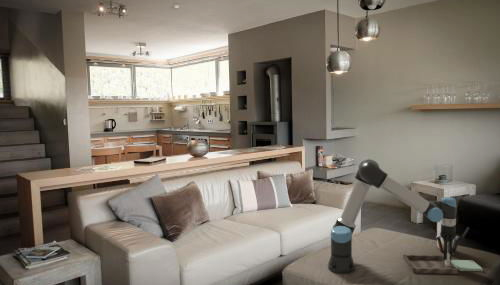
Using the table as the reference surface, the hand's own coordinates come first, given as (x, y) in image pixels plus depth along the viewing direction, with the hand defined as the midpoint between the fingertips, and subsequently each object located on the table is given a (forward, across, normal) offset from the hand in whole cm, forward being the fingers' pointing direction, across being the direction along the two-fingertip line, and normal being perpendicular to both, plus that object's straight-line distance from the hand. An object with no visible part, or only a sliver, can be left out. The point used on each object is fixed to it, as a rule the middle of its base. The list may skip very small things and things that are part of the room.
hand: (447, 264), depth 223 cm
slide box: (+1, -10, 0) cm, 10 cm away
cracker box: (+2, +8, +25) cm, 26 cm away
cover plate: (+2, +10, 0) cm, 10 cm away
